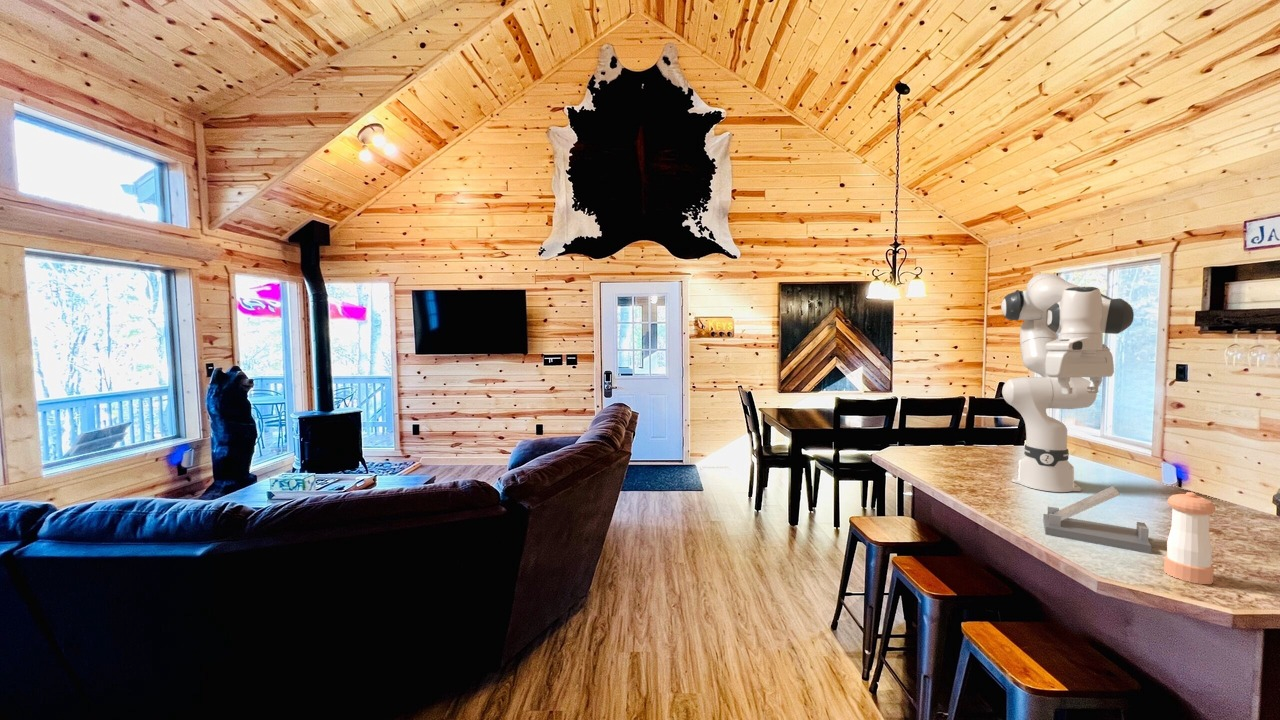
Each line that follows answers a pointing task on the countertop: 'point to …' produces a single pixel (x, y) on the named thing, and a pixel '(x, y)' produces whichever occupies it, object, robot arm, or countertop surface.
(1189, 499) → the pepper shaker
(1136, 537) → the clamp board
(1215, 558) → the countertop surface
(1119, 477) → the countertop surface
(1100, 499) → the clamp lever
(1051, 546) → the countertop surface
